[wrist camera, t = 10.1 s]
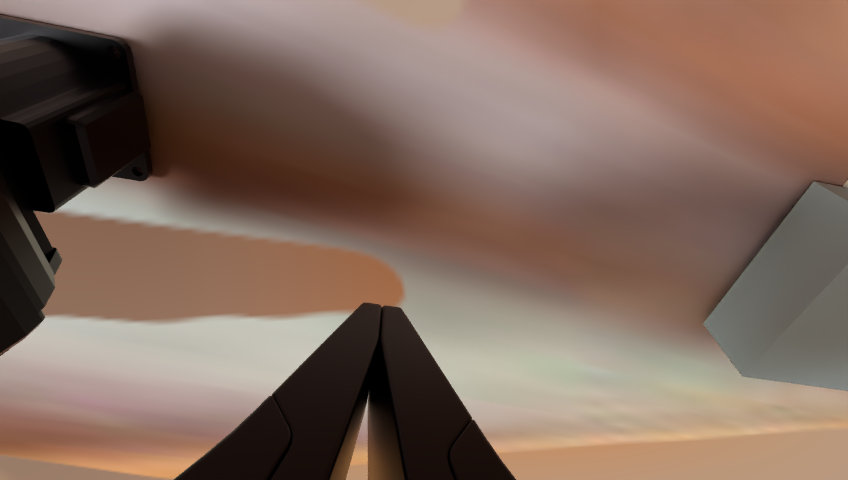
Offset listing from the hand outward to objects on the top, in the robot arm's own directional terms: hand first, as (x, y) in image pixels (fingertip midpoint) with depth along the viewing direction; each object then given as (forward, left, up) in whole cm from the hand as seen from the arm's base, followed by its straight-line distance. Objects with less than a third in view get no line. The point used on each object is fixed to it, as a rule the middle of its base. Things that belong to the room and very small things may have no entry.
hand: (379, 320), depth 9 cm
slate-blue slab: (+20, -4, -11) cm, 23 cm away
